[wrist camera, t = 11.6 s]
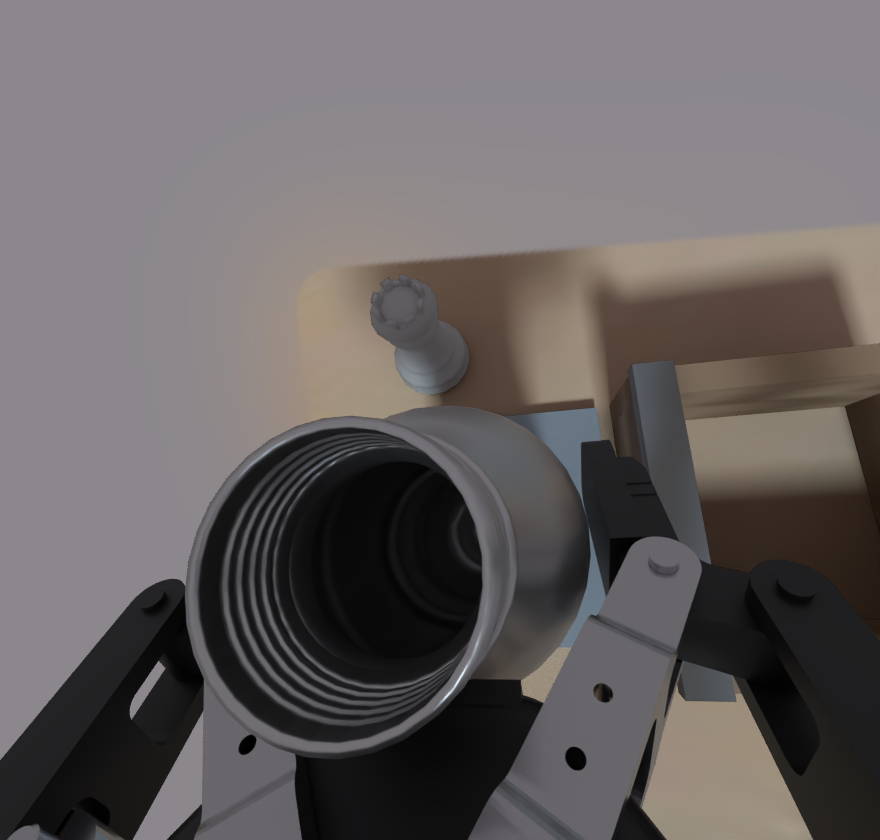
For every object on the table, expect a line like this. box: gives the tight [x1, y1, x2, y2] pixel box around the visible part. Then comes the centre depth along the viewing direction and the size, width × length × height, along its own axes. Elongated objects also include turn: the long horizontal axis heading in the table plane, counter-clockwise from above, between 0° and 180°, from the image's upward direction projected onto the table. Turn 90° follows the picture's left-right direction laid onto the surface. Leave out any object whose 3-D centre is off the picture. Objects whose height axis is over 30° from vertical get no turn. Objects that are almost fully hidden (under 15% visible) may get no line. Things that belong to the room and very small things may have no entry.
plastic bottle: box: [185, 405, 591, 759], centre depth 14 cm, size 6×7×20 cm
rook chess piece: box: [370, 275, 470, 395], centre depth 24 cm, size 4×4×8 cm
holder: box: [610, 343, 880, 702], centre depth 19 cm, size 13×12×7 cm
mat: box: [504, 408, 606, 647], centre depth 24 cm, size 12×12×1 cm
